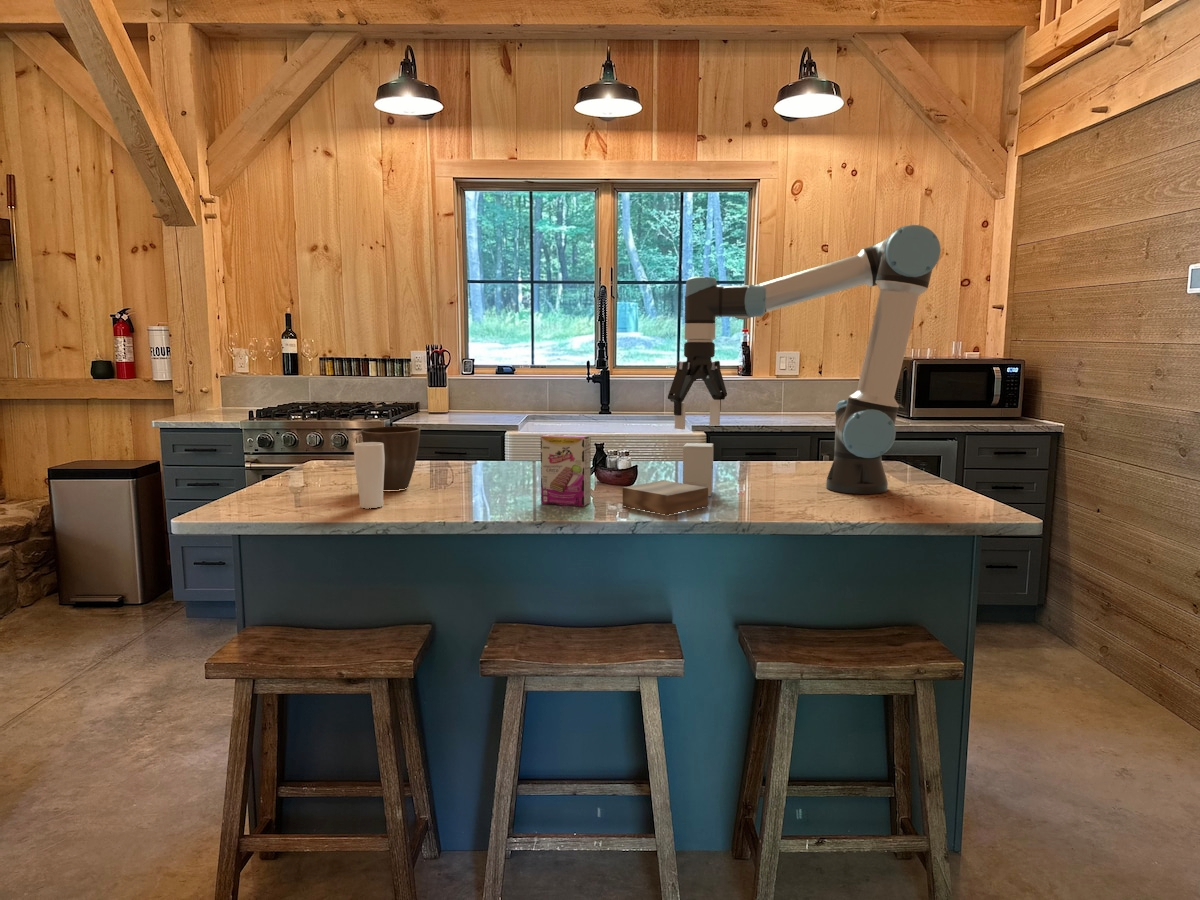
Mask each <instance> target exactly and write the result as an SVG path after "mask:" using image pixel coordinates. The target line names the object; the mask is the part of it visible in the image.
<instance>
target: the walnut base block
mask: <svg viewBox="0 0 1200 900" xmlns="http://www.w3.org/2000/svg"><path fill="white" fill-rule="evenodd" d="M623 506H626V507H630V508H635V509H640V510H645V511H650V512H655V513H660V514H665V515H669V514H674V513H678V512H682V511H687V510H692V509H697V508H702V507H707V506H708V507H709V497H708V487H701V486H695V485H689V484H683V482H675V481H670V480H669V481H668V480H657V481H652V482H645V483H641V484H635V485H629V486H623V487H622V507H623ZM708 507H707V508H708ZM630 508H629V509H630ZM635 509H634V510H635ZM702 509H703V508H702Z"/></svg>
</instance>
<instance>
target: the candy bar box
mask: <svg viewBox="0 0 1200 900" xmlns="http://www.w3.org/2000/svg"><path fill="white" fill-rule="evenodd" d="M591 439H592V438H591V436H590V435H580V434H579V435H578V434H577V435H575V434H559V433H558V434H556V433H546V434H543V435H541V436H540V501H541V502H540V503H541V505H542V504H545V505H555V506H570V507H581V508H582V507H584V508H585V507H586V506H588V505H589V503H590V504H591V499H592V496H591V495H592V494H591V492H592V491H591V486H592V485H591V480H592V479H591V477H592V475H591V466H592V465H591V462H592V461H591V453H592V451H591V447H592V445H591V444H592V443H591ZM587 504H588V505H587ZM585 505H586V506H585Z"/></svg>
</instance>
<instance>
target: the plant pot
mask: <svg viewBox="0 0 1200 900" xmlns="http://www.w3.org/2000/svg"><path fill="white" fill-rule="evenodd" d="M360 431H361V432H360V433H361V438H362V443H364V442H381V443H384V453H385V467H384V489H383V490H399V489H405V488H407V487H408V488H409V485H410V482H411V479H412V476H413V473H414V470H415V467H416V461H417V457H418V452H419V445H420V436H421V428H420V427H418V426H417V427H416V426H400V425H399V426H398V425H397V426H393V425H392V426H377V427H366V428H362V429H361V430H360ZM408 488H407V489H408Z"/></svg>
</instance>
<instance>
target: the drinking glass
mask: <svg viewBox="0 0 1200 900" xmlns="http://www.w3.org/2000/svg"><path fill="white" fill-rule="evenodd" d="M353 457H354V469H355V476H356V483H357V489H358V501H359V507H360V508H361V509H363V508H365V509H364V510H372V509H371V508H377V507H380V508H382V507H383V506H384V492H383V489H384V467H385V453H384V443H381V442H364V443H363V442H358V443H357V442H356V443H355V444H353ZM381 506H382V507H381ZM369 508H370V509H369ZM377 509H378V508H377Z"/></svg>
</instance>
